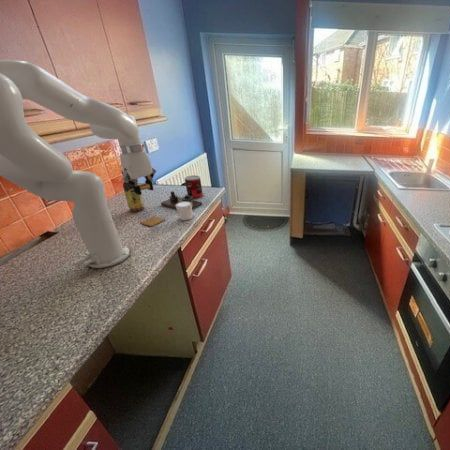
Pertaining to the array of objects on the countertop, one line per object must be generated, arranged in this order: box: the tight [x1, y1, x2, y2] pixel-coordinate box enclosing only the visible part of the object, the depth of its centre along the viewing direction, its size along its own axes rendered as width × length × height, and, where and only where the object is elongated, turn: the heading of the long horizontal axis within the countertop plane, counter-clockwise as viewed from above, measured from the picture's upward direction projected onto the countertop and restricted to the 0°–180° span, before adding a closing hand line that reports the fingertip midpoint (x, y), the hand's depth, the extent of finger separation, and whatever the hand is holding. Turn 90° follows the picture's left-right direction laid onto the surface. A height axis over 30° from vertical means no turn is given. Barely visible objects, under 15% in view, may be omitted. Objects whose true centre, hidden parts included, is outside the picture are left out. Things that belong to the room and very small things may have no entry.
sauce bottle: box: [121, 170, 145, 213], centre depth 120 cm, size 6×6×20 cm
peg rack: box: [160, 190, 203, 211], centre depth 130 cm, size 10×18×6 cm, turn 67°
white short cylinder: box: [175, 201, 193, 221], centre depth 117 cm, size 7×7×7 cm
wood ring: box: [181, 196, 194, 202], centre depth 127 cm, size 5×5×1 cm
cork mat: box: [140, 216, 165, 227], centre depth 114 cm, size 7×7×1 cm
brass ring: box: [138, 183, 150, 191], centre depth 106 cm, size 5×5×1 cm
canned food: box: [184, 174, 204, 199], centre depth 140 cm, size 8×8×11 cm
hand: (144, 191), depth 107 cm, fingers closed on brass ring, 5 cm apart
